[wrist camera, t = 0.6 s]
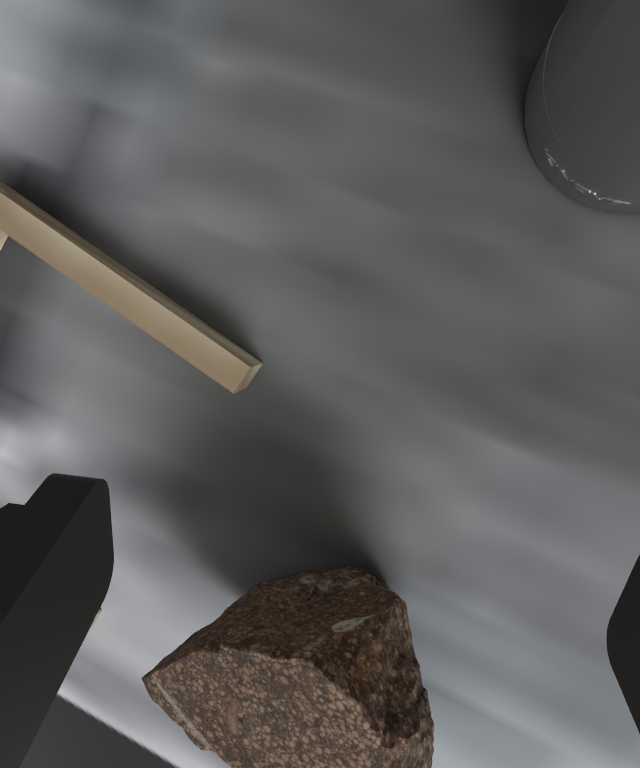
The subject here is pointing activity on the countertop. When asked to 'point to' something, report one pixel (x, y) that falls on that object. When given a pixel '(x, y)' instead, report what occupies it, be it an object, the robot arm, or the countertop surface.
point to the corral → (125, 292)
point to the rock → (303, 678)
